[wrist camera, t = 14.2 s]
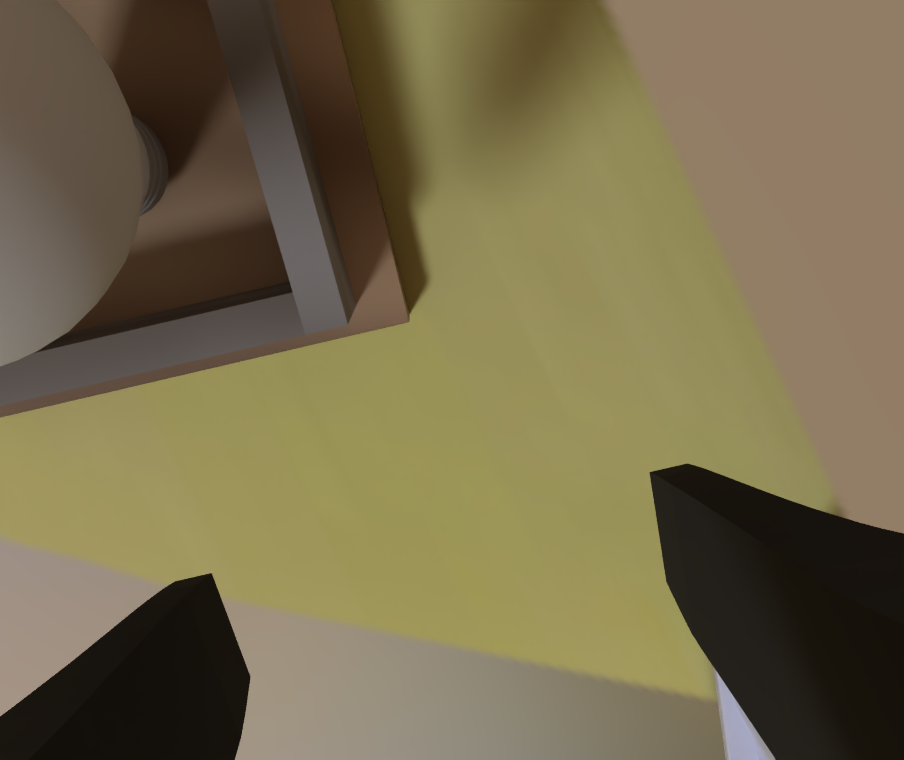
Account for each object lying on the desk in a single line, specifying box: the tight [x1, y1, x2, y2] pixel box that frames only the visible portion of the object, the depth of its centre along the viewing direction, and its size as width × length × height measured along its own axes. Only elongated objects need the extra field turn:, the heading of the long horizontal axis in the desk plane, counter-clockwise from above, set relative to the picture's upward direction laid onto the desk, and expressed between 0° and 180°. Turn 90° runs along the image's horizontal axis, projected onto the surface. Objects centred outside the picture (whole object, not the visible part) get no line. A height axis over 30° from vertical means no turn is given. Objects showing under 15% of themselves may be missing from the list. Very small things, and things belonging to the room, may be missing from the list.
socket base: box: [0, 0, 409, 417], centre depth 16 cm, size 11×12×4 cm
